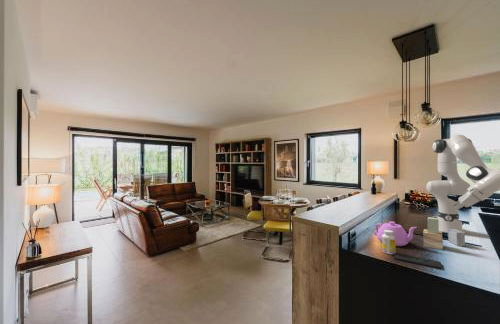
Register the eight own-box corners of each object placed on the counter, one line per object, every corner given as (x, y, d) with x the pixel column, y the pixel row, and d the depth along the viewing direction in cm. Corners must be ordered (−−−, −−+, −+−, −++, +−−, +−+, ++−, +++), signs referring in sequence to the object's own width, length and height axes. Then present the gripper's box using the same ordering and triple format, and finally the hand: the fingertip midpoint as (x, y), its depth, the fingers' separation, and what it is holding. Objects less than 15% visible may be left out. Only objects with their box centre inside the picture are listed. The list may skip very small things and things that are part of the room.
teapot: (369, 240, 147) (368, 220, 148) (379, 235, 159) (378, 216, 159) (413, 252, 128) (413, 229, 128) (421, 244, 139) (421, 223, 139)
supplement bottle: (396, 252, 128) (396, 230, 128) (394, 256, 123) (394, 233, 123) (383, 249, 132) (383, 228, 132) (381, 252, 127) (380, 231, 127)
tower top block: (424, 235, 144) (423, 229, 144) (442, 238, 138) (441, 231, 138) (423, 239, 137) (423, 232, 137) (442, 242, 131) (442, 235, 131)
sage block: (428, 230, 140) (428, 216, 140) (438, 232, 136) (438, 218, 137) (427, 232, 136) (427, 218, 137) (437, 234, 133) (437, 219, 133)
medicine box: (465, 246, 135) (465, 232, 135) (457, 246, 136) (456, 232, 136) (456, 242, 143) (455, 229, 143) (448, 241, 144) (448, 228, 144)
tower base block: (424, 242, 143) (424, 235, 143) (442, 246, 137) (442, 238, 137) (423, 246, 137) (423, 239, 137) (442, 250, 131) (442, 242, 131)
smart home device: (442, 267, 106) (393, 257, 119) (442, 270, 106) (393, 260, 119) (440, 261, 113) (394, 252, 125) (440, 264, 113) (395, 255, 125)
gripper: (469, 187, 133) (448, 201, 139) (473, 190, 117) (449, 206, 124) (480, 194, 130) (458, 208, 136) (485, 199, 114) (460, 215, 121)
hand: (454, 207), depth 130 cm, fingers open, 8 cm apart
